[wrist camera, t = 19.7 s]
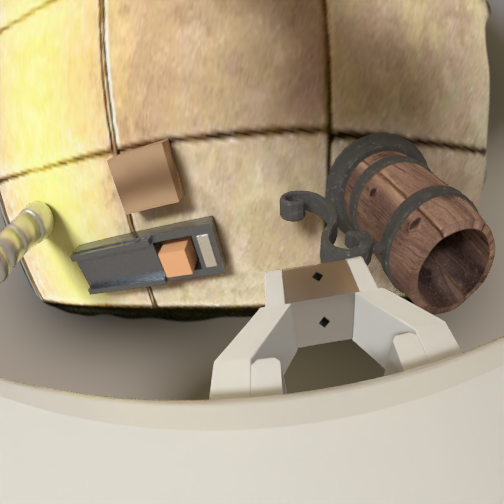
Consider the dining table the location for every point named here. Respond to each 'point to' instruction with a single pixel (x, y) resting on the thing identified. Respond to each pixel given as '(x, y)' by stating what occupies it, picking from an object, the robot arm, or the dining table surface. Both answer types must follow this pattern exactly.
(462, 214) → the tankard
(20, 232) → the plastic bottle
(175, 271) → the peach foam cube
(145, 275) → the grey slotted tray
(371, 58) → the dining table surface
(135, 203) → the brown square plate
